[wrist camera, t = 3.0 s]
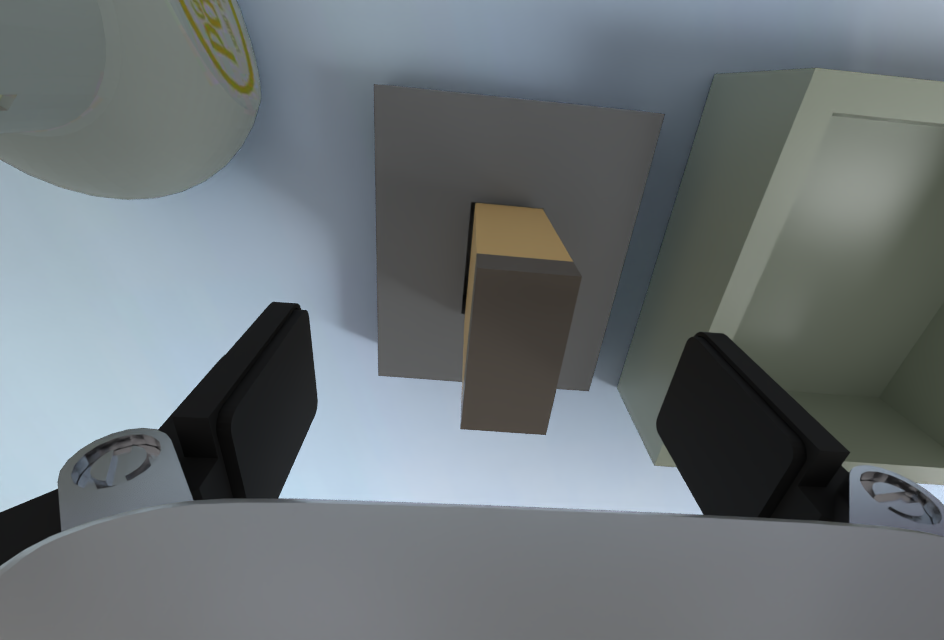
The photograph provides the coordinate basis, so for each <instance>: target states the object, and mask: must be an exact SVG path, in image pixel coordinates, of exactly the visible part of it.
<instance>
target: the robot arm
mask: <svg viewBox="0 0 944 640" xmlns="http://www.w3.org/2000/svg"><path fill="white" fill-rule="evenodd" d="M317 403H318V400H317V389H316V380H315V370H314V360H313V351H312V341H311V331H310V322H309V314H308V311H307V310H301V308H300V305H299V304H296V303H282V302H272V303H270V305H269V306H268V307H267V308H266V309H265V310H264V311H263V313H262V314H261V315H260V316H259V317H258V318H257V319H256V321H255V322H254V323H253V324H252V325H251V326H250V327H249V329H248V330H247V331H246V332H245V333H244V334H243V335H242V337H241V338H240V339H239V340H238V341H237V342H236V343H235V345H234V346H233V347H232V348H231V349H230V350H229V351H228V353H227V354H226V355H224V356H223V357H222V358H221V359H220V360H219V361H218V362H217V363H216V365H215V366H214V367H213V368H212V369H211V370H210V371H209V373H208V374H207V375H206V376H205V377H204V378H203V379H202V380H201V382H200V383H199V384H198V385H197V386H196V387H195V388H194V390H193V391H192V392H191V393H190V394H189V395H188V396H187V398H186V399H185V400H184V401H183V402H182V403H181V404H180V405H179V407H178V408H177V409H176V410H175V411H174V412H173V413H172V415H171V416H170V417H169V418H168V419H167V420H166V421H165V423H164V424H163V425H162V426H161V427H160V428H159V429H158V430H157V429H148V428H138V429H128V430H124V431H121V432H117V433H113V434H110V435H108V436H105V437H103V438H100V439H98V440H96V441H94V442H92V443H90V444H89V445H87V446H85V447H84V448H82V449H80V450H79V451H78V452H77V453H76V454H74V455H73V456H72V457H71V458H70V459H69V460H68V461H67V462H66V463H65V465H64V466H63V468H62V469H61V470H60V473H59V478H58V489H56V490H54V491H51V492H49V493H46V494H44V495H42V496H39V497H37V498H34V499H32V500H30V501H27V502H25V503H22V504H20V505H17V506H15V507H13V508H10V509H8V510H5V511H3V512H1V513H0V640H944V505H943V504H942V503H941V502H940V500H938V499H937V498H936V497H935V496H933V495H932V494H931V493H930V492H928V491H927V490H926V489H924V488H923V487H921V486H919V485H918V484H916V483H915V482H913V481H911V480H909V479H907V478H905V477H903V476H901V475H899V474H897V473H895V472H892V471H889V470H886V469H884V468H880V467H875V466H870V465H858V466H856V467H854V468H852V469H851V470H850V472H848V471H847V470H846V469H845V468H844V467H843V466H842V464H843V462H844V461H845V459H846V458H847V457H848V455H849V454H850V451H848V450H847V449H846V448H845V447H844V446H843V445H842V444H841V443H840V442H839V441H838V440H837V439H836V438H835V437H834V436H833V435H832V434H830V433H829V432H828V431H827V430H826V429H825V428H824V427H823V426H822V425H821V424H820V423H819V422H818V421H817V420H816V419H815V418H814V417H813V416H811V415H810V414H809V413H808V412H807V411H806V410H805V409H804V408H803V407H802V406H801V405H800V404H799V403H798V402H797V401H796V400H795V399H793V398H792V397H791V396H790V395H789V394H788V393H787V392H786V391H785V390H784V389H783V388H782V387H781V386H780V385H779V384H778V383H777V382H775V381H774V380H773V379H772V378H771V377H770V376H769V375H768V374H767V373H766V372H765V371H764V370H763V369H762V368H761V367H760V366H759V365H757V364H756V363H755V362H754V361H753V360H752V359H751V358H750V357H749V356H748V355H747V354H746V353H745V352H744V351H743V350H742V349H741V348H740V347H738V346H737V345H736V344H735V343H734V342H733V341H732V340H731V339H730V338H729V337H728V336H727V335H725V334H724V333H712V332H698V333H696V334H695V335H694V337H690V338H689V339H688V340H687V342H686V344H685V347H684V349H683V352H682V354H681V357H680V360H679V362H678V365H677V367H676V370H675V373H674V375H673V378H672V380H671V383H670V386H669V388H668V391H667V393H666V396H665V399H664V401H663V404H662V406H661V409H660V411H659V414H658V417H657V420H656V429H657V432H658V434H659V436H660V438H661V440H662V442H663V443H664V445H665V447H666V449H667V450H668V452H669V454H670V456H671V458H672V459H673V461H674V463H675V465H676V466H677V468H678V470H679V472H680V474H681V475H682V477H683V479H684V481H685V482H686V484H687V486H688V488H689V490H690V491H691V493H692V495H693V497H694V498H695V500H696V502H697V504H698V506H699V507H700V509H701V511H702V513H703V514H704V515H696V514H675V513H654V512H633V511H610V510H587V509H564V508H540V507H516V506H492V505H466V504H438V503H411V502H384V501H357V500H326V499H278V497H279V495H280V493H281V491H282V488H283V486H284V484H285V482H286V479H287V477H288V475H289V473H290V470H291V468H292V466H293V464H294V461H295V459H296V457H297V455H298V452H299V450H300V448H301V446H302V443H303V441H304V439H305V437H306V434H307V432H308V430H309V428H310V425H311V423H312V421H313V419H314V416H315V414H316V410H317Z"/></svg>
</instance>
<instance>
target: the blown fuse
mask: <svg viewBox="0 0 944 640" xmlns="http://www.w3.org/2000/svg"><path fill="white" fill-rule="evenodd" d="M581 279H582V276H581V274H580V272H579V271H578V269H577V267H576V266H575V264H574V262H573V260H572V259H571V257H570V255H569V254H568V252H567V250H566V248H565V247H564V245H563V243H562V241H561V240H560V238H559V236H558V235H557V233H556V231H555V229H554V228H553V226H552V224H551V223H550V221H549V219H548V217H547V216H546V214H545V212H544V211H543V209H538V208H527V207H520V206H509V205H498V204H488V203H475V212H474V223H473V233H472V244H471V255H470V266H469V276H468V287H467V298H466V309H465V319H464V344H463V372H462V400H461V428H460V429H468V430H482V431H496V432H511V433H525V434H540V435H546V432H547V428H548V423H549V419H550V414H551V410H552V406H553V401H554V397H555V393H556V388H557V384H558V379H559V375H560V371H561V366H562V362H563V358H564V353H565V349H566V344H567V340H568V336H569V331H570V327H571V323H572V318H573V314H574V309H575V305H576V301H577V296H578V292H579V288H580V283H581Z"/></svg>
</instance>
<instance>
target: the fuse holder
mask: <svg viewBox="0 0 944 640" xmlns="http://www.w3.org/2000/svg"><path fill="white" fill-rule="evenodd" d="M664 115H665V114H661V113H653V112H646V111H638V110H628V109H618V108H608V107H599V106H589V105H579V104H569V103H559V102H550V101H540V100H530V99H520V98H510V97H501V96H491V95H481V94H471V93H462V92H452V91H442V90H432V89H422V88H413V87H403V86H393V85H378V84H374V124H375V187H376V250H377V313H378V376H390V377H404V378H417V379H431V380H444V381H458V382H462V372H463V344H464V319H465V309H466V298H467V287H468V276H469V266H470V255H471V244H472V233H473V223H474V212H475V203H488V204H498V205H509V206H520V207H527V208H538V209H543V211H544V212H545V214H546V216H547V217H548V219H549V221H550V223H551V224H552V226H553V228H554V229H555V231H556V233H557V235H558V236H559V238H560V240H561V241H562V243H563V245H564V247H565V248H566V250H567V252H568V254H569V255H570V257H571V259H572V260H573V262H574V264H575V266H576V267H577V269H578V271H579V272H580V274H581V276H582V279H581V283H580V288H579V292H578V296H577V301H576V305H575V309H574V314H573V318H572V323H571V327H570V331H569V336H568V340H567V344H566V349H565V353H564V358H563V362H562V366H561V371H560V375H559V379H558V384H557V388H556V389H566V390H580V391H589V389H590V385H591V382H592V378H593V374H594V371H595V367H596V363H597V360H598V356H599V352H600V349H601V345H602V341H603V338H604V334H605V331H606V327H607V323H608V320H609V316H610V312H611V309H612V305H613V301H614V298H615V294H616V290H617V287H618V283H619V279H620V276H621V272H622V268H623V265H624V261H625V258H626V254H627V250H628V247H629V243H630V239H631V236H632V232H633V228H634V225H635V221H636V217H637V214H638V210H639V206H640V203H641V199H642V196H643V192H644V188H645V185H646V181H647V177H648V174H649V170H650V166H651V163H652V159H653V155H654V152H655V148H656V144H657V141H658V137H659V133H660V130H661V126H662V123H663V119H664Z"/></svg>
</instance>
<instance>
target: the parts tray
mask: <svg viewBox="0 0 944 640" xmlns="http://www.w3.org/2000/svg"><path fill="white" fill-rule="evenodd" d="M698 332H712V333H724V334H725V335H727V336H728V337H729V338H730V339H731V340H732V341H733V342H734V343H735V344H736V345H737V346H738V347H740V348H741V349H742V350H743V351H744V352H745V353H746V354H747V355H748V356H749V357H750V358H751V359H752V360H753V361H754V362H755V363H756V364H757V365H759V366H760V367H761V368H762V369H763V370H764V371H765V372H766V373H767V374H768V375H769V376H770V377H771V378H772V379H773V380H774V381H775V382H777V383H778V384H779V385H780V386H781V387H782V388H783V389H784V390H785V391H786V392H787V393H788V394H789V395H790V396H791V397H792V398H793V399H795V400H796V401H797V402H798V403H799V404H800V405H801V406H802V407H803V408H804V409H805V410H806V411H807V412H808V413H809V414H810V415H811V416H813V417H814V418H815V419H816V420H817V421H818V422H819V423H820V424H821V425H822V426H823V427H824V428H825V429H826V430H827V431H828V432H829V433H830V434H832V435H833V436H834V437H835V438H836V439H837V440H838V441H839V442H840V443H841V444H842V445H843V446H844V447H845V448H846V449H847V450H848V451H850V454H849V455H848V457H847V458H846V459H845V461H844V462H843V464H842V466H843V467H844V468H845V469H846V470H847V471H848V472H850V470H851V469H852V468H854V467H856V466H858V465H870V466H875V467H880V468H884V469H886V470H889V471H892V472H895V473H897V474H899V475H901V476H903V477H905V478H907V479H909V480H911V481H913V482H915V483H920V484H935V485H944V82H942V81H933V80H924V79H915V78H905V77H896V76H887V75H878V74H869V73H859V72H850V71H841V70H832V69H822V68H804V69H788V70H771V71H754V72H738V73H721V74H715V75H714V78H713V81H712V84H711V88H710V91H709V94H708V97H707V100H706V104H705V107H704V110H703V113H702V116H701V120H700V123H699V126H698V129H697V133H696V136H695V139H694V142H693V145H692V149H691V152H690V155H689V158H688V161H687V165H686V168H685V171H684V174H683V177H682V181H681V184H680V187H679V190H678V194H677V197H676V200H675V203H674V206H673V210H672V213H671V216H670V219H669V222H668V226H667V229H666V232H665V235H664V238H663V242H662V245H661V248H660V251H659V255H658V258H657V261H656V264H655V267H654V271H653V274H652V277H651V280H650V283H649V287H648V290H647V293H646V296H645V300H644V303H643V306H642V309H641V312H640V316H639V319H638V322H637V325H636V328H635V332H634V335H633V338H632V341H631V344H630V348H629V351H628V354H627V357H626V361H625V364H624V367H623V370H622V373H621V377H620V380H619V383H618V386H617V389H618V391H619V393H620V395H621V398H622V400H623V402H624V404H625V406H626V408H627V410H628V412H629V414H630V416H631V418H632V420H633V422H634V425H635V427H636V429H637V431H638V433H639V435H640V437H641V439H642V441H643V443H644V445H645V447H646V449H647V451H648V454H649V456H650V458H651V460H652V462H653V464H654V466H667V467H677V466H676V465H675V463H674V461H673V459H672V458H671V456H670V454H669V452H668V450H667V449H666V447H665V445H664V443H663V442H662V440H661V438H660V436H659V434H658V432H657V429H656V420H657V417H658V414H659V411H660V409H661V406H662V404H663V401H664V399H665V396H666V393H667V391H668V388H669V386H670V383H671V380H672V378H673V375H674V373H675V370H676V367H677V365H678V362H679V360H680V357H681V354H682V352H683V349H684V347H685V344H686V342H687V340H688V339H689V338H690V337H694V335H695V334H696V333H698Z"/></svg>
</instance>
